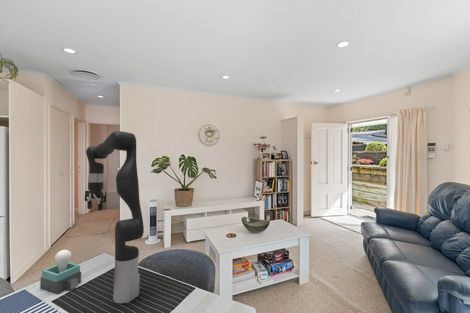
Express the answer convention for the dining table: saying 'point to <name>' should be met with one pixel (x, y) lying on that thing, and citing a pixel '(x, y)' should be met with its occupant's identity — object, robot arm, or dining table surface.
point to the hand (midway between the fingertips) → (94, 209)
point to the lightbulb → (62, 259)
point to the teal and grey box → (60, 278)
